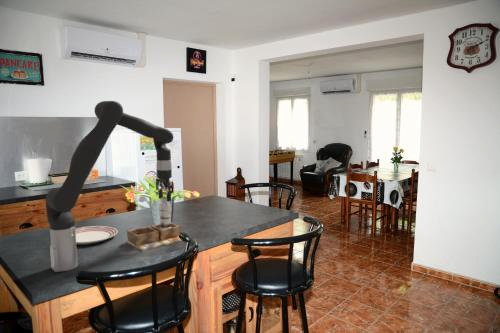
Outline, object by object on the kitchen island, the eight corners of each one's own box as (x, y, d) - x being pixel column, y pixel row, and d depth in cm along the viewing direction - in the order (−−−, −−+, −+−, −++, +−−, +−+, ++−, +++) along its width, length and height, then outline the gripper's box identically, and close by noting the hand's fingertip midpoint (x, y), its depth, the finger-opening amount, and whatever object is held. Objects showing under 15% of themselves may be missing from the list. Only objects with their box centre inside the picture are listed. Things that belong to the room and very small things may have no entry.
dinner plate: (117, 228, 202) (117, 223, 202) (118, 243, 177) (118, 237, 177) (63, 234, 193) (63, 228, 192) (56, 251, 167) (55, 244, 167)
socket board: (142, 251, 166) (141, 238, 165) (126, 241, 179) (125, 230, 179) (186, 239, 182) (186, 228, 181) (169, 231, 195) (168, 221, 195)
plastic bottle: (156, 235, 186) (155, 197, 184) (168, 232, 191) (166, 196, 188) (163, 238, 182) (162, 199, 179) (174, 235, 186) (173, 197, 184)
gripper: (150, 168, 185) (151, 198, 187) (164, 170, 174) (165, 203, 176) (163, 166, 190) (164, 196, 192) (177, 169, 179) (178, 201, 181)
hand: (164, 199), depth 184 cm, fingers open, 8 cm apart
